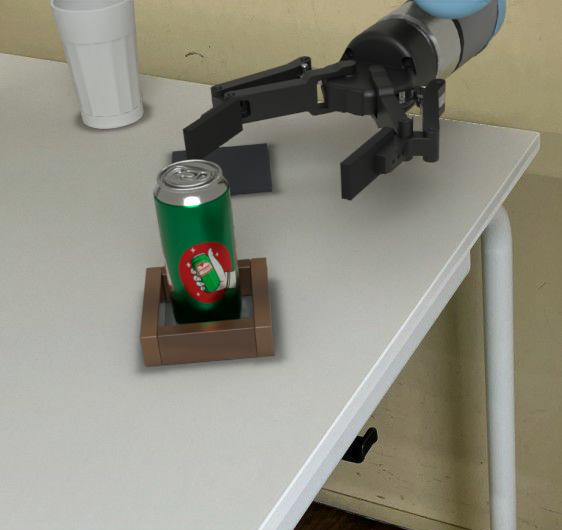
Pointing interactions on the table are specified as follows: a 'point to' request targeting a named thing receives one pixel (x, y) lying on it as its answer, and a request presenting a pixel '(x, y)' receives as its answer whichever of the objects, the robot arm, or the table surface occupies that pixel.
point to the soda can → (198, 242)
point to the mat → (240, 166)
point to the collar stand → (206, 323)
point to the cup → (101, 59)
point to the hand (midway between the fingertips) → (263, 164)
